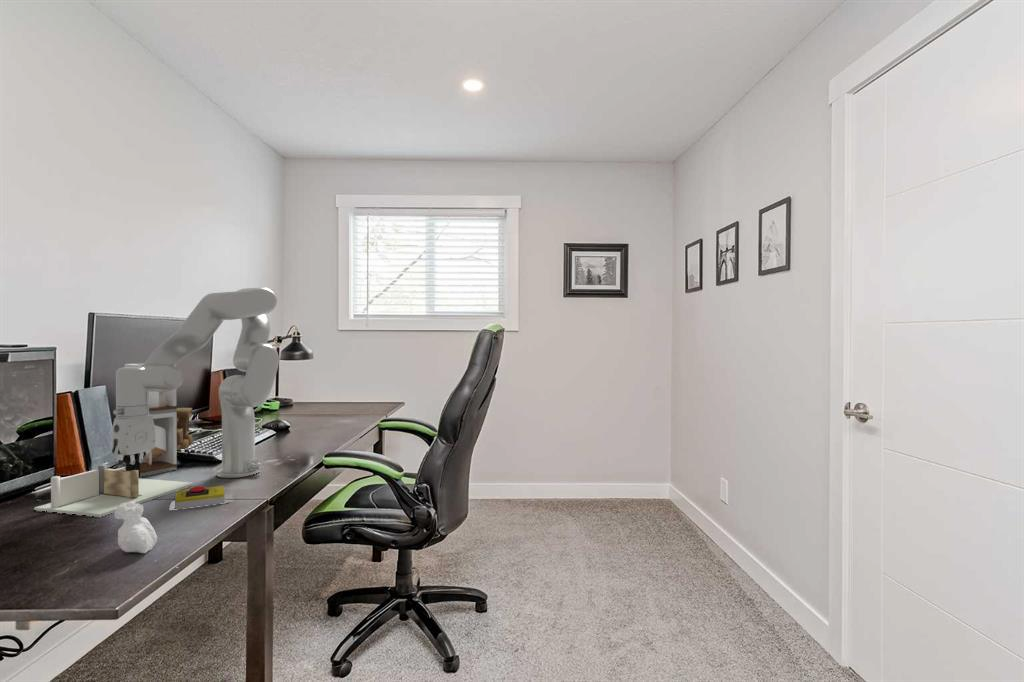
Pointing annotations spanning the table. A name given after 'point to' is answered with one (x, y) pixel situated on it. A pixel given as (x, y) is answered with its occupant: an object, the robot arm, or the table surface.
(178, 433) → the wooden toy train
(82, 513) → the board
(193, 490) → the emergency button
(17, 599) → the table surface
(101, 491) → the fixed fence section
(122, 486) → the wooden panel
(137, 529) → the white tied sack
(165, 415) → the white wooden-base stand
